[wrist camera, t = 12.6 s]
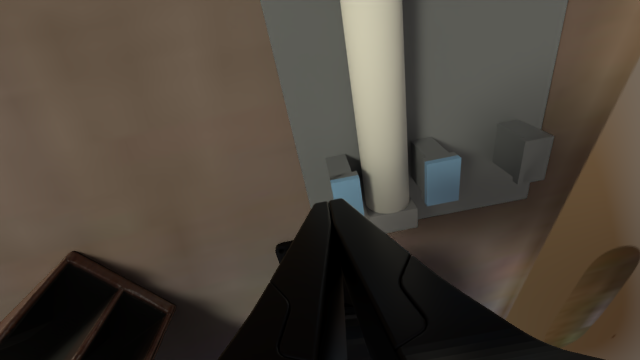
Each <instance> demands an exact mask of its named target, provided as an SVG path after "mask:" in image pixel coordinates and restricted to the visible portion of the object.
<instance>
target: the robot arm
mask: <svg viewBox="0 0 640 360" xmlns="http://www.w3.org/2000/svg"><path fill="white" fill-rule="evenodd" d="M329 206H330V207H329ZM279 249H284V250H279ZM275 251H276V255H277V258H278V261H279V263H280V265H279V266H278V268H277V270H276V272H275V273H274V275H273V277H272V279H271V280H270V283H269V284H268V285H267V287H266V289H265V291H264V292H263V294H262V296H261V297H260V299H259V301H258V302H257V304H256V306H255V307H254V309H253V310H252V312H251V313H250V315H249V316H248V318H247V319H246V321H245V322H244V324H243V325H242V327H241V328H240V329H239V331H238V332H237V334H236V335H235V336H234V338H233V339H232V341H231V342H230V343H229V345H228V346H227V347H226V349H225V350H224V352H223V353H222V354H221V356H220V357H219V358H218V360H604V359H600V358H595V357H591V356H587V355H583V354H579V353H574V352H570V351H567V350H563V349H560V348H557V347H554V346H552V345H549V344H547V343H545V342H542V341H540V340H538V339H536V338H534V337H532V336H530V335H529V334H527V333H525V332H523V331H522V330H520V329H518V328H517V327H515V326H514V325H512V324H510V323H509V322H507V321H506V320H504V319H503V318H501V317H500V316H498V315H497V314H495V313H494V312H492V311H491V310H489V309H487V308H486V307H484V306H483V305H481V304H480V303H478V302H477V301H475V300H474V299H472V298H470V297H469V296H467V295H466V294H464V293H463V292H461V291H460V290H458V289H457V288H455V287H454V286H452V285H451V284H449V283H448V282H447V281H445V280H444V279H442V278H441V277H439V276H438V275H437V274H435V273H434V272H433V271H431V270H430V269H429V268H428V267H426V266H425V265H424V264H422V263H421V262H420V261H419V260H417V259H416V258H415V257H414V256H411V254H410V253H409V252H408V251H406V250H405V249H404V248H403V247H401V246H400V245H399V244H398V243H397V242H395V241H394V240H393V239H392V238H390V237H389V236H388V235H387V234H386V233H384V232H383V231H382V230H381V229H379V228H378V227H377V226H376V225H375V224H373V223H372V222H371V221H370V220H368V219H367V218H366V217H365V216H364V215H362V214H361V213H360V212H359V211H357V210H356V209H355V208H354V207H352V206H351V205H350V204H349V203H348V202H346V201H345V200H344V199H342V198H339V199H334V200H330V201H329V203H328V201H324V202H319V203H315V204H314V205H313V207H312V209H311V211H310V212H309V214H308V216H307V218H306V219H305V221H304V223H303V225H302V226H301V228H300V230H299V232H298V233H297V235H296V237H295V238H294V240H293V241H291V242H285V243H280V244H278V245H277V246H276V250H275Z"/></svg>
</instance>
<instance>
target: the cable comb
mask: <svg viewBox="0 0 640 360" xmlns="http://www.w3.org/2000/svg"><path fill="white" fill-rule="evenodd" d="M260 2H261V6H262V10H263V14H264V18H265V22H266V26H267V30H268V35H269V39H270V43H271V47H272V51H273V55H274V59H275V63H276V67H277V72H278V76H279V80H280V84H281V88H282V92H283V96H284V100H285V104H286V108H287V113H288V117H289V121H290V125H291V129H292V133H293V137H294V141H295V145H296V150H297V154H298V158H299V162H300V166H301V170H302V174H303V178H304V182H305V186H306V191H307V195H308V199H309V203H310V207H311V209H312V207H313V205H314V204H315V203H319V202H324V201H328V203H329V201H330V200H334V199H339V198H342V199H344V200H345V201H346V202H348V203H349V204H350V205H351V206H352V207H354V208H355V209H356V210H357V211H359V212H360V213H361V214H362V215H364V209H363V201H362V194H361V193H364V185H363V177H362V169H361V161H360V154H359V146H358V138H357V130H356V122H355V114H354V106H353V98H352V91H351V83H350V75H349V67H348V59H347V51H346V43H345V36H344V28H343V20H342V12H341V4H340V0H260ZM567 3H568V0H402V7H403V35H404V63H405V91H406V119H407V147H408V174H409V196H410V197H411V199H412V201H413V202H414V204H415V205H416V207H417V210H418V219H423V218H428V217H433V216H438V215H443V214H448V213H454V212H459V211H464V210H469V209H474V208H480V207H485V206H490V205H495V204H500V203H505V202H511V201H516V200H521V199H526V198H527V195H528V190H529V185H530V182H534V181H540V180H544V178H545V174H546V170H547V165H548V161H549V157H550V153H551V148H552V144H553V140H554V136H553V135H551V134H549V133H547V132H545V131H542V130H541V128H542V123H543V118H544V113H545V108H546V104H547V99H548V94H549V89H550V84H551V80H552V75H553V70H554V65H555V60H556V56H557V51H558V46H559V41H560V36H561V31H562V27H563V22H564V17H565V12H566V7H567ZM329 207H330V206H329ZM364 216H365V215H364Z"/></svg>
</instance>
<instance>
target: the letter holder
mask: <svg viewBox="0 0 640 360" xmlns="http://www.w3.org/2000/svg"><path fill="white" fill-rule="evenodd" d="M175 309H176V306H175V305H174V304H172V303H170V302H169V301H167V300H165V299H163V298H161V297H160V296H158V295H156V294H154V293H152V292H150V291H148V290H147V289H145V288H143V287H141V286H139V285H137V284H135V283H133V282H131V281H130V280H128V279H126V278H124V277H122V276H120V275H118V274H116V273H115V272H113V271H111V270H109V269H107V268H105V267H103V266H101V265H99V264H98V263H96V262H94V261H92V260H90V259H88V258H86V257H85V256H83V255H81V254H79V253H77V252H74V251H72V252H70V253H69V254H68V255H67V256H66V257H64V259H63V260H62V261H61V262H60V263H59V264H58V265H57V266H56V267H55V268H54V269H53V270H52V271H51V272H50V273H49V274H48V275H47V276H46V277H45V278H44V279H43V280H42V281H41V282H40V283H39V284H38V285H37V286H36V287H35V288H34V289H33V290H32V291H31V292H30V293H29V294H28V295H27V296H26V297H25V298H24V299H23V300H22V301H21V302H20V303H19V304H18V305H17V306H16V307H15V308H14V309H13V310H12V311H11V312H10V313H9V314H8V315H7V316H6V317H5V318H4V319H3V320H2V321H1V322H0V360H154V358H155V355H156V353H157V351H158V348H159V346H160V344H161V341H162V339H163V336H164V334H165V332H166V329H167V327H168V325H169V323H170V321H171V319H172V317H173V314H174V312H175Z"/></svg>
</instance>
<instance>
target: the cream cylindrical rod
mask: <svg viewBox="0 0 640 360" xmlns="http://www.w3.org/2000/svg"><path fill="white" fill-rule="evenodd" d="M340 4H341V12H342V20H343V28H344V36H345V43H346V51H347V59H348V67H349V75H350V83H351V91H352V98H353V106H354V114H355V122H356V130H357V138H358V146H359V154H360V161H361V169H362V177H363V185H364V193H361V194H362V201H363V209H364V215H365V217H366V218H367V219H368V220H370V221H371V222H372V223H373V224H375V225H376V226H377V227H378V228H379V229H381V230H382V231H383V232H384V233H390V232H395V231H400V230H405V229H410V228H416V227H418V210H417V207H416V205H415V204H414V202H413V201H412V199H411V197H410V196H409V174H408V147H407V119H406V91H405V63H404V35H403V7H402V0H340Z"/></svg>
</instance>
